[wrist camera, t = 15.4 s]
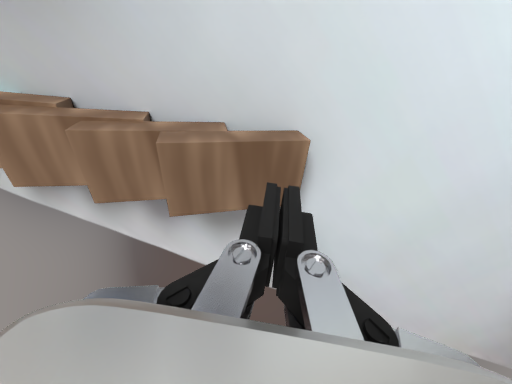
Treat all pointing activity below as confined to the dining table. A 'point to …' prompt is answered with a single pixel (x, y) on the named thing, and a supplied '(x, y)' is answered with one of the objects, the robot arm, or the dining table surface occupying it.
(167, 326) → the robot arm
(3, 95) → the tile
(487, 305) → the dining table surface
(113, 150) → the tile
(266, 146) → the tile
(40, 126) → the tile
